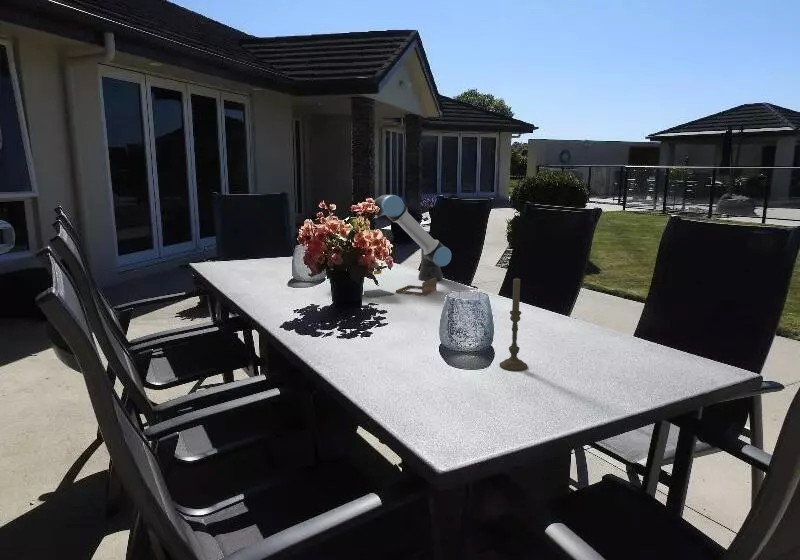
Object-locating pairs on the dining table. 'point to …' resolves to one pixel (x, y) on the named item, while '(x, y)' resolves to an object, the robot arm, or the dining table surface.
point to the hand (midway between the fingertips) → (381, 262)
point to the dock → (426, 288)
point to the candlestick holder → (514, 333)
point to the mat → (377, 293)
